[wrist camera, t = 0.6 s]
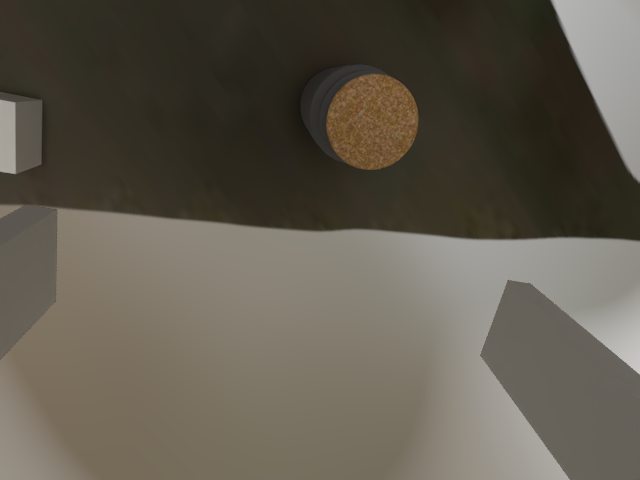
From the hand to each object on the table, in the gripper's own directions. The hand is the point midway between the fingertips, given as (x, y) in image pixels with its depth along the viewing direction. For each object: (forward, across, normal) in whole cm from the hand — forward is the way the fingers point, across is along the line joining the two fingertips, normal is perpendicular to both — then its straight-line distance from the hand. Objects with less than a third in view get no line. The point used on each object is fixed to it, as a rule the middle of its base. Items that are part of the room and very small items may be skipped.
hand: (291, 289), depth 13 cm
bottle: (+26, +4, +4) cm, 27 cm away
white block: (+26, -20, -2) cm, 33 cm away
